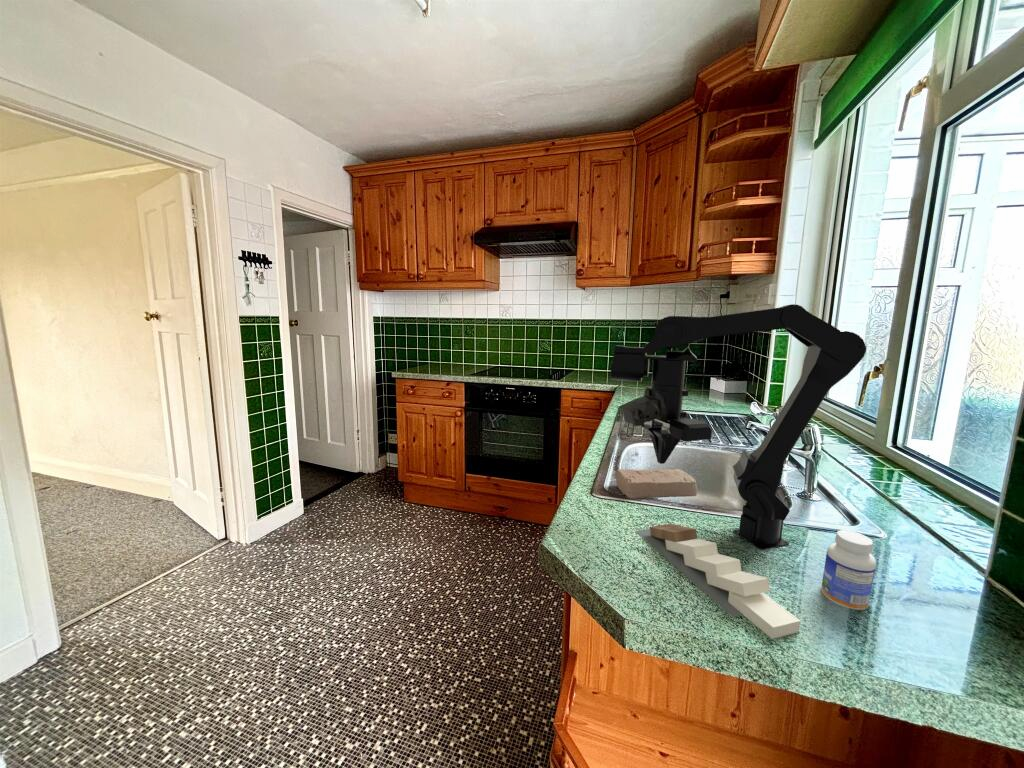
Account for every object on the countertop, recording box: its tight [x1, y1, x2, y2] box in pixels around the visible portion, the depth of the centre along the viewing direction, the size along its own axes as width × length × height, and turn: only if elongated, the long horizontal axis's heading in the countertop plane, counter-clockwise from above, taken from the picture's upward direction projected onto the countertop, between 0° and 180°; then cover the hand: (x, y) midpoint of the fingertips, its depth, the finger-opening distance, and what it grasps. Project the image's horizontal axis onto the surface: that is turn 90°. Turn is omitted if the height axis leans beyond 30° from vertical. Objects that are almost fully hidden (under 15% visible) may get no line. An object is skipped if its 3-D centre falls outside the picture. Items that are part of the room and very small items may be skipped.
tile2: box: [665, 538, 719, 558], centre depth 68 cm, size 4×2×7 cm
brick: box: [615, 468, 698, 500], centre depth 95 cm, size 17×8×5 cm, turn 97°
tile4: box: [705, 570, 771, 596], centre depth 59 cm, size 4×2×7 cm
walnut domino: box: [649, 523, 699, 542], centre depth 72 cm, size 4×2×7 cm
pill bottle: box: [820, 529, 877, 611], centre depth 58 cm, size 5×5×10 cm
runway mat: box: [634, 528, 744, 618], centre depth 66 cm, size 8×23×1 cm, turn 16°
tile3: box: [683, 553, 742, 576], centre depth 63 cm, size 4×2×7 cm
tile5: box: [728, 591, 801, 640], centre depth 54 cm, size 4×2×7 cm
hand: (661, 463), depth 79 cm, fingers closed
